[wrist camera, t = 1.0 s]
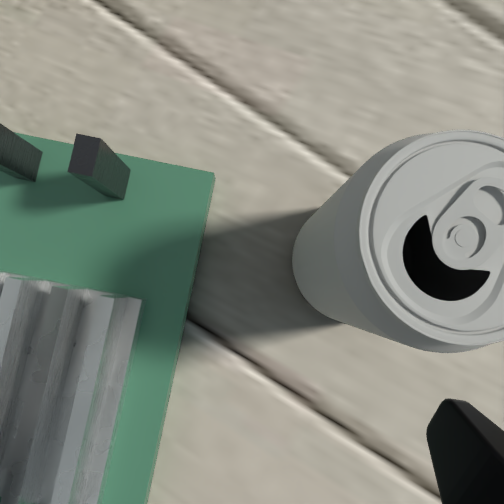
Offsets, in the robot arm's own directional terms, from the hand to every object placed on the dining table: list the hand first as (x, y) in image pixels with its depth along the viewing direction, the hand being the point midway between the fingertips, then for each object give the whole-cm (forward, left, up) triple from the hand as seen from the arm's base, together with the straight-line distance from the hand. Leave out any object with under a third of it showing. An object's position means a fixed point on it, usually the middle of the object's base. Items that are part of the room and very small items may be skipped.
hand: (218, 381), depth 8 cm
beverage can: (+4, -6, -15) cm, 16 cm away
